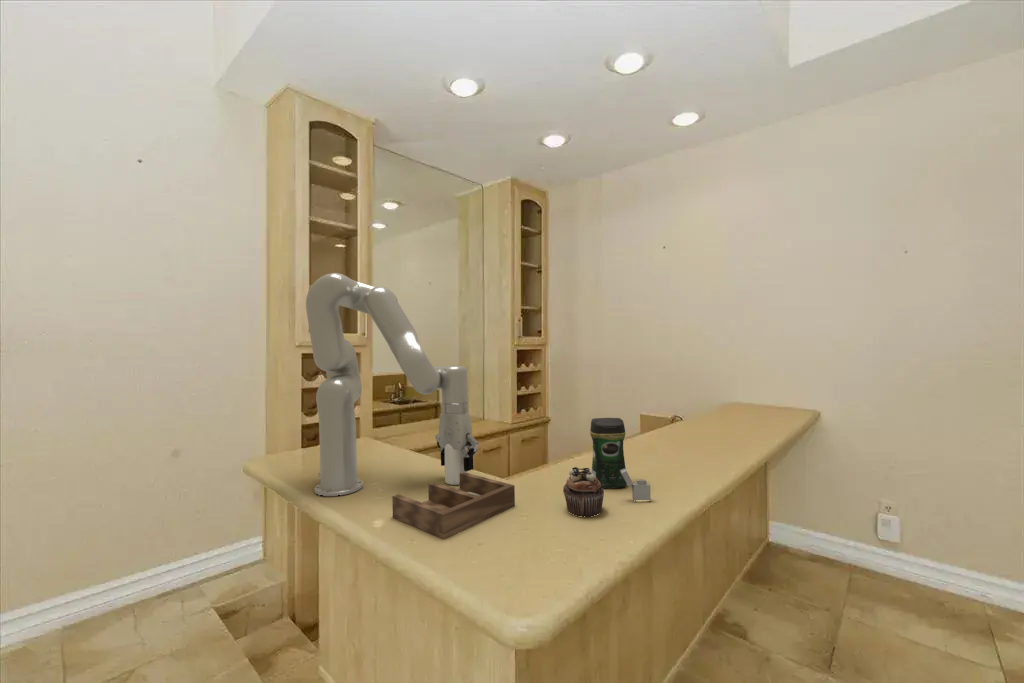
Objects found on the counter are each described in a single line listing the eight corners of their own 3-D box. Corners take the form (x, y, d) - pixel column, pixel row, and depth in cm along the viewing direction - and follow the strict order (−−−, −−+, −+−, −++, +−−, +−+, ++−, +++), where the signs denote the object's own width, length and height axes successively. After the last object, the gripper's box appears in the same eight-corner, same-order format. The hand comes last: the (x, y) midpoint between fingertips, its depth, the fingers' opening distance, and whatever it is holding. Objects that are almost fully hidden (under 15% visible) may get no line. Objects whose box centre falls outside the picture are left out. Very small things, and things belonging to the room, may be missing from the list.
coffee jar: (623, 479, 125) (621, 415, 125) (629, 489, 117) (628, 420, 117) (589, 480, 125) (587, 415, 125) (593, 489, 117) (592, 420, 117)
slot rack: (392, 517, 101) (392, 496, 101) (464, 490, 119) (463, 472, 119) (444, 539, 90) (443, 514, 90) (514, 505, 107) (514, 485, 107)
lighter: (648, 499, 109) (648, 467, 109) (650, 502, 108) (650, 469, 107) (620, 499, 110) (619, 468, 110) (621, 502, 108) (621, 470, 108)
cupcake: (610, 517, 99) (609, 473, 99) (568, 520, 98) (567, 475, 98) (598, 502, 108) (597, 462, 108) (560, 504, 108) (559, 463, 107)
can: (469, 478, 129) (468, 438, 129) (465, 485, 122) (464, 443, 122) (448, 478, 129) (447, 438, 129) (442, 485, 123) (441, 443, 123)
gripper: (425, 407, 129) (427, 465, 129) (466, 412, 117) (468, 476, 117) (445, 404, 134) (446, 459, 134) (485, 409, 123) (487, 469, 123)
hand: (457, 467), depth 126 cm, fingers open, 9 cm apart
